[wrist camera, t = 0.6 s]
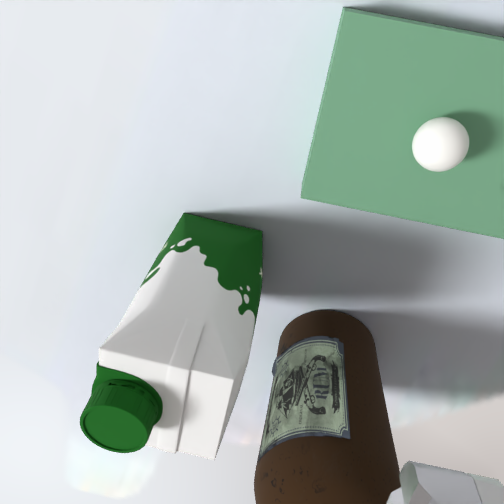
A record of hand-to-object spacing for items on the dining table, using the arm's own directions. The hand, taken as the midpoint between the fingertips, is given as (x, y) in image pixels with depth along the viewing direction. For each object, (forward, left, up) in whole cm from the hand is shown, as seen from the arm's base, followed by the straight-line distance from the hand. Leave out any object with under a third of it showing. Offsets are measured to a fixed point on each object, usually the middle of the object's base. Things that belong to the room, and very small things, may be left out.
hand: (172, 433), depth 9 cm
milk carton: (+17, -3, -32) cm, 36 cm away
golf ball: (+1, +11, -27) cm, 29 cm away
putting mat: (+1, +14, -31) cm, 34 cm away
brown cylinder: (+25, +9, -32) cm, 41 cm away
